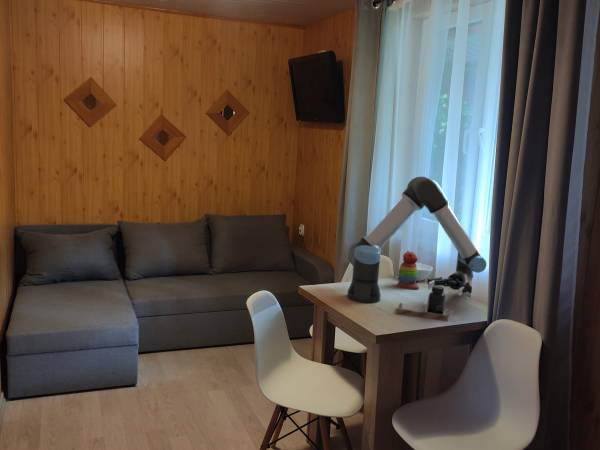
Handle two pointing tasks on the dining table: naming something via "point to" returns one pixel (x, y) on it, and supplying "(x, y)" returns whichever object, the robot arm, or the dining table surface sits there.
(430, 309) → the supplement bottle
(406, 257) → the stacking bear
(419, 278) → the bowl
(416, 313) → the notch rail
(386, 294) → the dining table surface
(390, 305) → the dining table surface
